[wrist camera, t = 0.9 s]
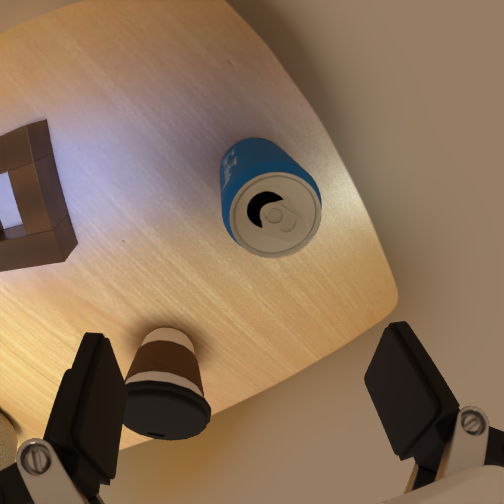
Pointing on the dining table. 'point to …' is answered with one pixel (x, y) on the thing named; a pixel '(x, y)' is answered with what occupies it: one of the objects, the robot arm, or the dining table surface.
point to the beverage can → (268, 199)
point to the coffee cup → (165, 388)
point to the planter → (7, 443)
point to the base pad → (34, 201)
